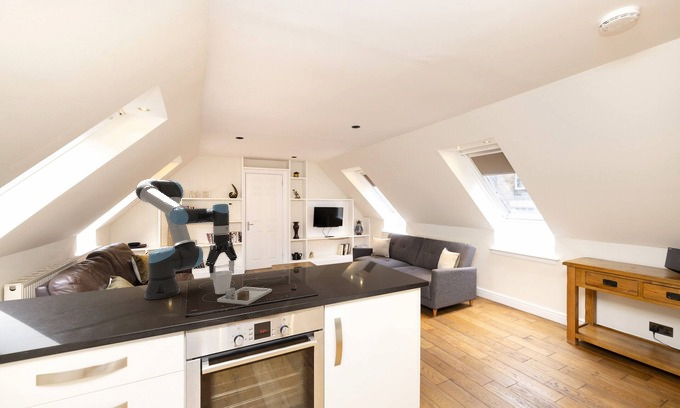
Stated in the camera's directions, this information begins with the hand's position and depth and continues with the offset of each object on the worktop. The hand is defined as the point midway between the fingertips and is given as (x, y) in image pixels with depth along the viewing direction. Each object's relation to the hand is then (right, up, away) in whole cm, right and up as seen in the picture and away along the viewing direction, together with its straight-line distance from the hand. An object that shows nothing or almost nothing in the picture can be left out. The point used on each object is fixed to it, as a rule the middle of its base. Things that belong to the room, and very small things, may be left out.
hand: (222, 276), depth 143 cm
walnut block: (+15, -8, -14) cm, 22 cm away
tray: (+14, -9, -7) cm, 18 cm away
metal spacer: (+9, -8, -12) cm, 17 cm away
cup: (0, -10, 0) cm, 10 cm away
